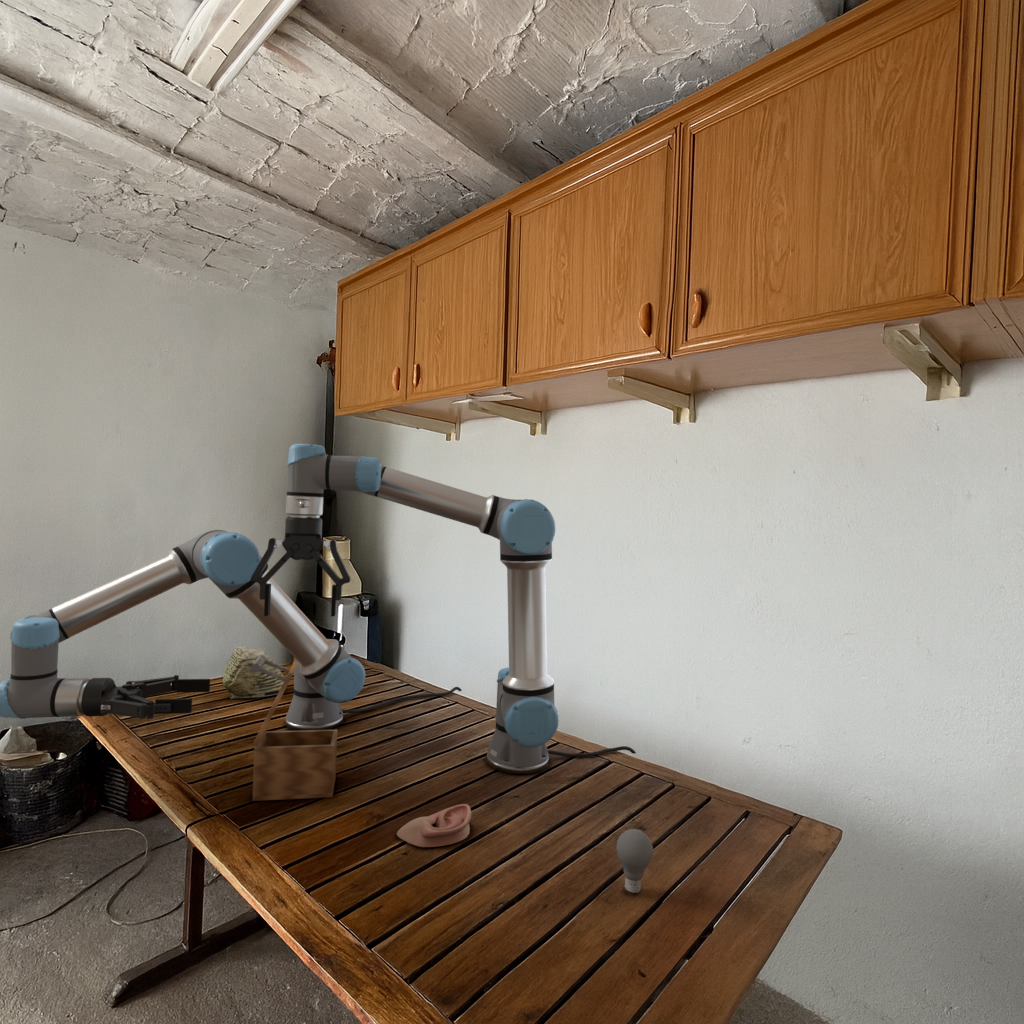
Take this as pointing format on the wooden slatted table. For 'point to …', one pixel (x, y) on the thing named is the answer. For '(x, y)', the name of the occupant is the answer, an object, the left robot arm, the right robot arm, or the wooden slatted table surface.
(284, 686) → the lid
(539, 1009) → the wooden slatted table surface
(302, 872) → the wooden slatted table surface
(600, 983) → the wooden slatted table surface
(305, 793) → the chest
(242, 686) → the fossil
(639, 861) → the light bulb
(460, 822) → the anatomical model
